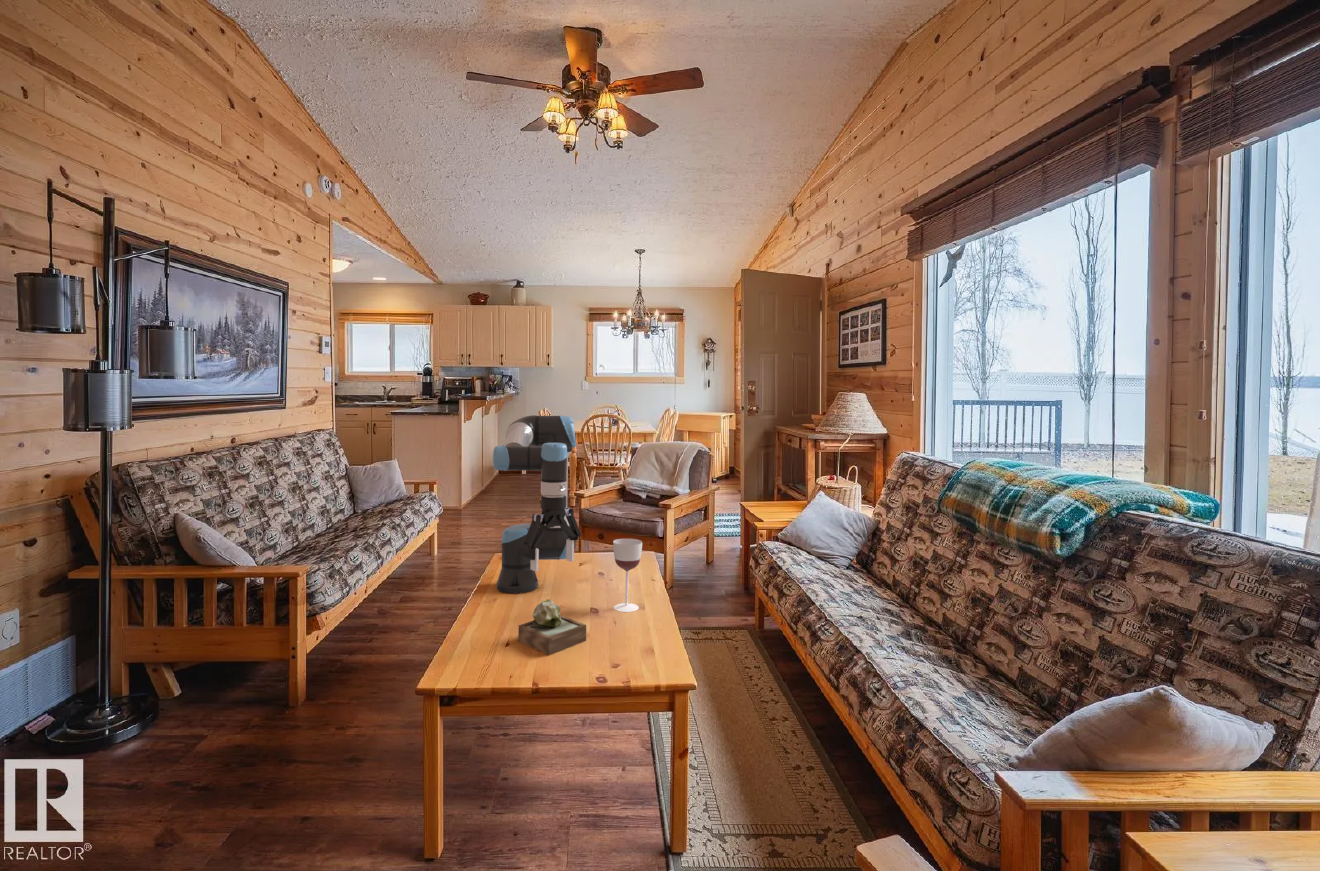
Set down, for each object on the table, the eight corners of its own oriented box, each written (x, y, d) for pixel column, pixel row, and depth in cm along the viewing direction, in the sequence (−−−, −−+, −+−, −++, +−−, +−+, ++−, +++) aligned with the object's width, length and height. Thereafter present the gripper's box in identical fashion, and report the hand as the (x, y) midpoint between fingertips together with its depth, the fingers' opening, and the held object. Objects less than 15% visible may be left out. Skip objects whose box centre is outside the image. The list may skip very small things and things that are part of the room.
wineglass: (637, 613, 204) (638, 545, 203) (608, 610, 206) (610, 543, 205) (643, 604, 213) (645, 539, 211) (615, 601, 215) (617, 537, 213)
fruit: (537, 622, 185) (541, 596, 186) (565, 629, 183) (570, 602, 184) (524, 628, 176) (529, 600, 177) (553, 634, 174) (558, 606, 175)
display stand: (518, 641, 179) (518, 625, 178) (555, 628, 189) (555, 613, 189) (549, 655, 170) (549, 638, 169) (586, 640, 180) (586, 624, 180)
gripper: (527, 502, 168) (526, 577, 169) (593, 492, 187) (591, 559, 188) (510, 498, 172) (510, 571, 174) (576, 488, 192) (575, 554, 193)
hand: (552, 565), depth 181 cm, fingers open, 13 cm apart
